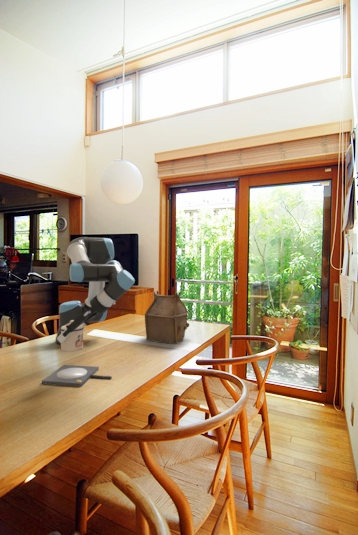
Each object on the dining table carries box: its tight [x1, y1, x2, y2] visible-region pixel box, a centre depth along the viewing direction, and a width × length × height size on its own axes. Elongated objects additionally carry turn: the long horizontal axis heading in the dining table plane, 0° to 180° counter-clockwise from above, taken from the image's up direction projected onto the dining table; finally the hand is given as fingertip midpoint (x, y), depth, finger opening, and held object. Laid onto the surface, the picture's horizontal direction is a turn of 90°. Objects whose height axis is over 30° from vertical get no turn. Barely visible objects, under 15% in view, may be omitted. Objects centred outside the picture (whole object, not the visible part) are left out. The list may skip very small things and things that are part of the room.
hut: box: [144, 290, 190, 345], centre depth 185 cm, size 23×27×30 cm
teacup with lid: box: [60, 320, 85, 353], centre depth 123 cm, size 12×9×12 cm
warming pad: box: [41, 364, 113, 387], centre depth 123 cm, size 25×18×2 cm
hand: (66, 336), depth 124 cm, fingers closed on teacup with lid, 12 cm apart
